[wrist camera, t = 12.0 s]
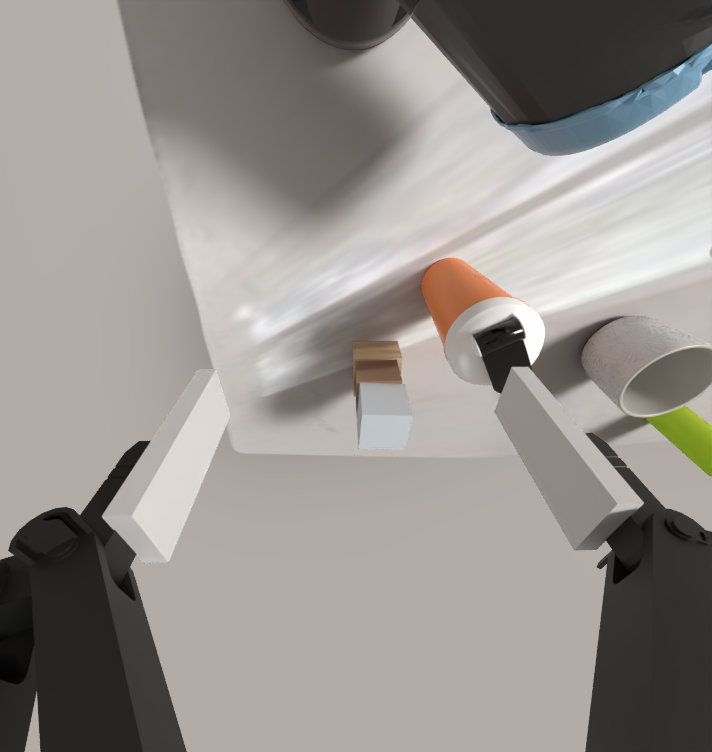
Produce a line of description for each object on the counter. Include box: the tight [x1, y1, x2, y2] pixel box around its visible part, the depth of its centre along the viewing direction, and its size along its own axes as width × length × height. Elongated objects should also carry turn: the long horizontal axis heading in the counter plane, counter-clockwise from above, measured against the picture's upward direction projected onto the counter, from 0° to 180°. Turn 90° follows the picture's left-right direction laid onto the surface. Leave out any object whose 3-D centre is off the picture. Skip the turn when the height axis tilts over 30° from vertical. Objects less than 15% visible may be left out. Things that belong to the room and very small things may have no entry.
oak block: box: [353, 341, 402, 396], centre depth 48 cm, size 7×7×5 cm
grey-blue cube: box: [357, 383, 413, 450], centre depth 40 cm, size 6×6×6 cm
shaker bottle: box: [422, 258, 545, 393], centre depth 35 cm, size 9×9×20 cm
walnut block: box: [355, 360, 402, 411], centre depth 44 cm, size 6×6×5 cm
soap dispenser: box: [644, 406, 712, 476], centre depth 51 cm, size 6×7×20 cm
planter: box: [581, 316, 712, 417], centre depth 45 cm, size 12×12×11 cm
